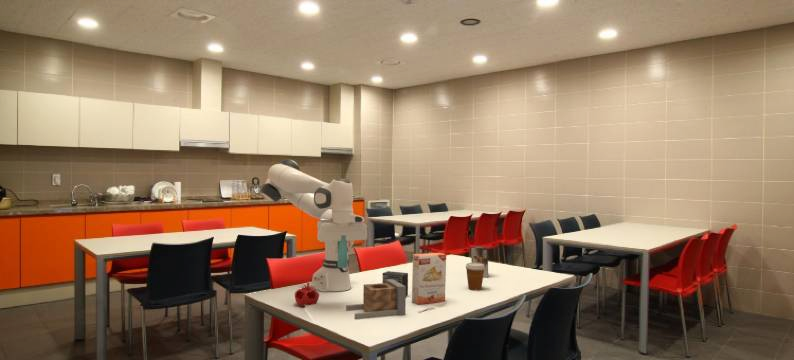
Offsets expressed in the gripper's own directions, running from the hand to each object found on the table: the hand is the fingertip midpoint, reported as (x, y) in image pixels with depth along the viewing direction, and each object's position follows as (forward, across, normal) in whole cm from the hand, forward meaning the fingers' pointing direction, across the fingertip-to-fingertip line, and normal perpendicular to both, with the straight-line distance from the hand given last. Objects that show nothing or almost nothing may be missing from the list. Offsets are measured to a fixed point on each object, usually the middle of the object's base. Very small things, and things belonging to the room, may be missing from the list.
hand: (342, 251), depth 199 cm
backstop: (+24, +7, -12) cm, 28 cm away
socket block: (+22, +12, -12) cm, 28 cm away
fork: (+24, +32, -12) cm, 42 cm away
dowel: (+6, 0, 0) cm, 6 cm away
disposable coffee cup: (+24, +70, +16) cm, 75 cm away
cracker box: (+24, +38, 0) cm, 45 cm away
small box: (+24, +28, +15) cm, 40 cm away
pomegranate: (+23, -13, +10) cm, 29 cm away
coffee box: (+24, +87, +41) cm, 99 cm away
